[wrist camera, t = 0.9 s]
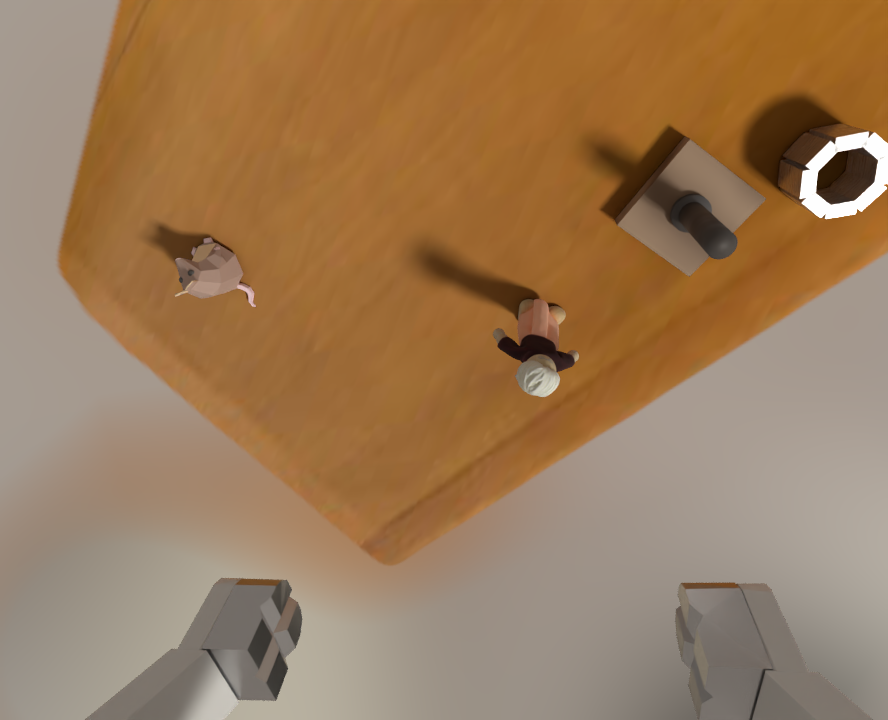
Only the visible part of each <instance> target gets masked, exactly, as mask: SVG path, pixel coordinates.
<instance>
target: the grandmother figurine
mask: <svg viewBox="0 0 888 720" xmlns="http://www.w3.org/2000/svg"><path fill="white" fill-rule="evenodd" d="M565 315H566V314H565V311H564V310H563V309H562V308H560V307H558V306H551V307H548V304H547V303H546V302H545V301H544V300H541V299H535V300H532V299H526V300H523V301H522V302H521V303H520V306H519V313H518V337H519V343H520V346H519V345H518V344H517V343H516V342H515V341H513V340H512V339H511V338H509V337H508V336H507V335H506V334H505V332H504V331H503V330H502V329H500V328H498V329H496V330H495V331H494V332H493V336H494V338H495V339H496V341H497V343H498V348H499V349H500V350H502V351H504V352H505V353H507V354H508V355H509V356H511V357H513V358H515V359H517V360H520V361H521V362H522V364H521V365H520V367H519V368H518V372H517V375H515V376H516V378H517V380H518V383H519V386H520V387H521V388H522V389H523V390H524V391H525V392H527V393H529V394H531V395H537V396H539V397H545V396H548V395H549V394H551V393H552V392H553V391H554V390H555V389H556V388H557V386H558V384H559V381H560V377H559V375H558V373H557V372H558V371H562V370H564V369H567V368H569V367H572V366H573V365H574V363H575V361H577V360H578V358H579V354H578V352H577V351H575V350H571V351H569V352H568V353H567V354H566V353H563V352H560V351H557V350H558V347H559V326H558V325H559V324H560V323H561V322H562V321H563V320H564V319H565Z"/></svg>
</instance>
